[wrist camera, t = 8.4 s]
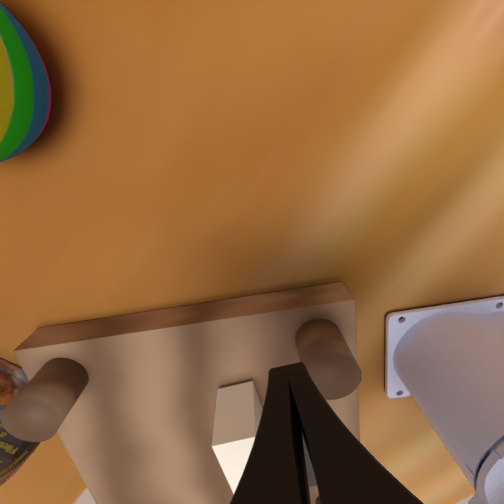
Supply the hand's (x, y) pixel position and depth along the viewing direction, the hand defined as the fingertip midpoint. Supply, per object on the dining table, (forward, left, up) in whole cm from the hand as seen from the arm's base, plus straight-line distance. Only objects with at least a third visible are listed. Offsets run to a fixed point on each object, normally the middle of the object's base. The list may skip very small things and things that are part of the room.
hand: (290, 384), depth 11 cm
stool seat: (+6, +12, -9) cm, 16 cm away
